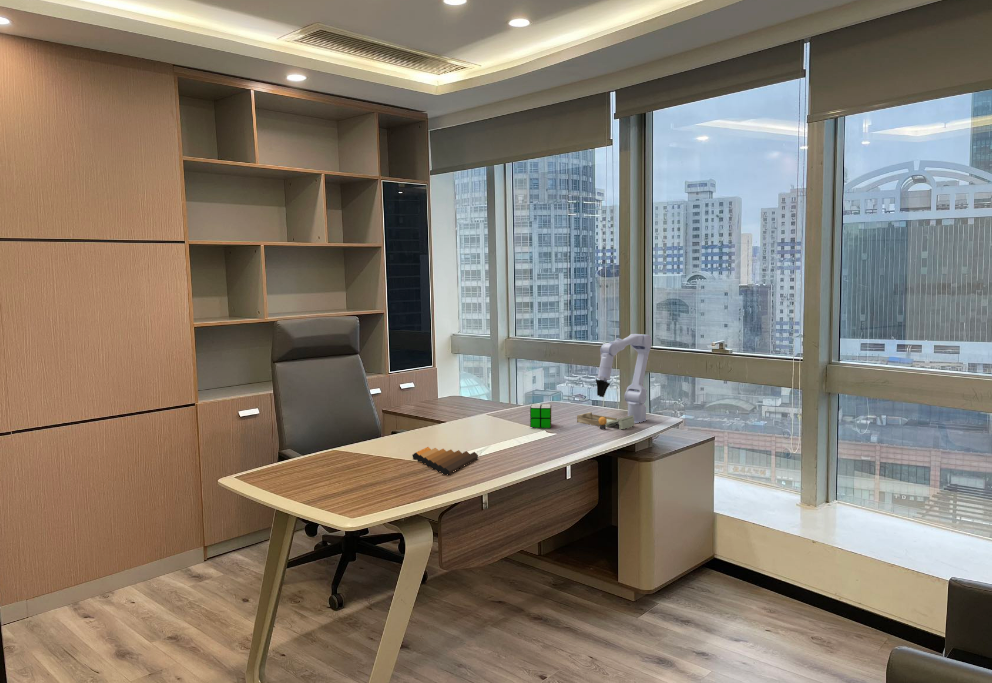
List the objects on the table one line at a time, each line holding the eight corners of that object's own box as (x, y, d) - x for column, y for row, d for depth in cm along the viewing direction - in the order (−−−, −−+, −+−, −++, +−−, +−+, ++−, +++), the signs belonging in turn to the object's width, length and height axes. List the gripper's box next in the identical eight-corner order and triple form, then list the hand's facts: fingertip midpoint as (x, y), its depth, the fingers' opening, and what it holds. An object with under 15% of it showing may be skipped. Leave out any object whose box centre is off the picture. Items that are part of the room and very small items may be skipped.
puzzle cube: (551, 424, 350) (551, 404, 349) (550, 428, 340) (550, 408, 339) (531, 423, 351) (531, 404, 350) (530, 428, 341) (530, 407, 340)
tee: (601, 427, 340) (601, 424, 340) (606, 428, 338) (606, 425, 338) (598, 428, 338) (598, 425, 338) (603, 429, 336) (603, 426, 336)
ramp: (607, 421, 353) (607, 410, 353) (633, 426, 343) (634, 415, 342) (595, 425, 346) (595, 413, 346) (622, 429, 335) (622, 418, 335)
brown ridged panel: (449, 476, 262) (478, 460, 285) (449, 467, 261) (478, 452, 284) (392, 469, 272) (424, 454, 295) (392, 461, 272) (424, 446, 294)
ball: (601, 423, 341) (601, 415, 340) (608, 425, 338) (608, 416, 337) (596, 425, 338) (596, 417, 337) (603, 426, 335) (603, 418, 335)
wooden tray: (590, 418, 361) (590, 412, 361) (616, 423, 350) (616, 416, 350) (577, 422, 353) (577, 415, 353) (603, 426, 342) (603, 419, 342)
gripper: (598, 368, 343) (593, 395, 342) (595, 365, 330) (590, 393, 328) (613, 370, 341) (608, 398, 340) (610, 367, 328) (605, 396, 326)
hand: (600, 396), depth 334 cm, fingers open, 7 cm apart
